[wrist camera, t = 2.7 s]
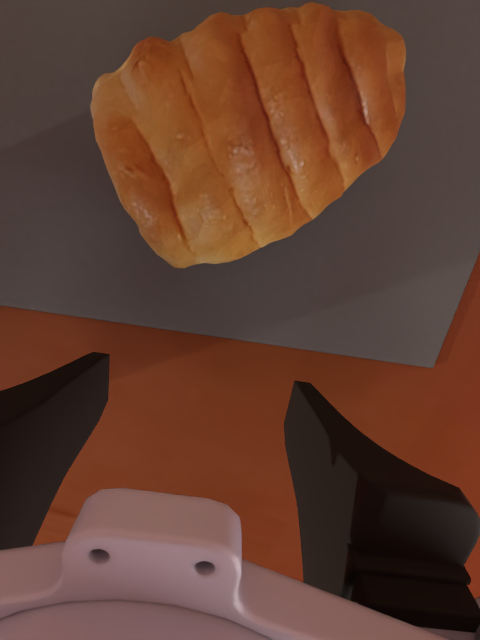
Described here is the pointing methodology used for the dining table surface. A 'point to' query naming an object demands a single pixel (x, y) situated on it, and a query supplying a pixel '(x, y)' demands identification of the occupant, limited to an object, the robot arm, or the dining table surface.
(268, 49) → the pastry
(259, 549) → the dining table surface
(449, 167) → the placemat
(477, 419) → the dining table surface
